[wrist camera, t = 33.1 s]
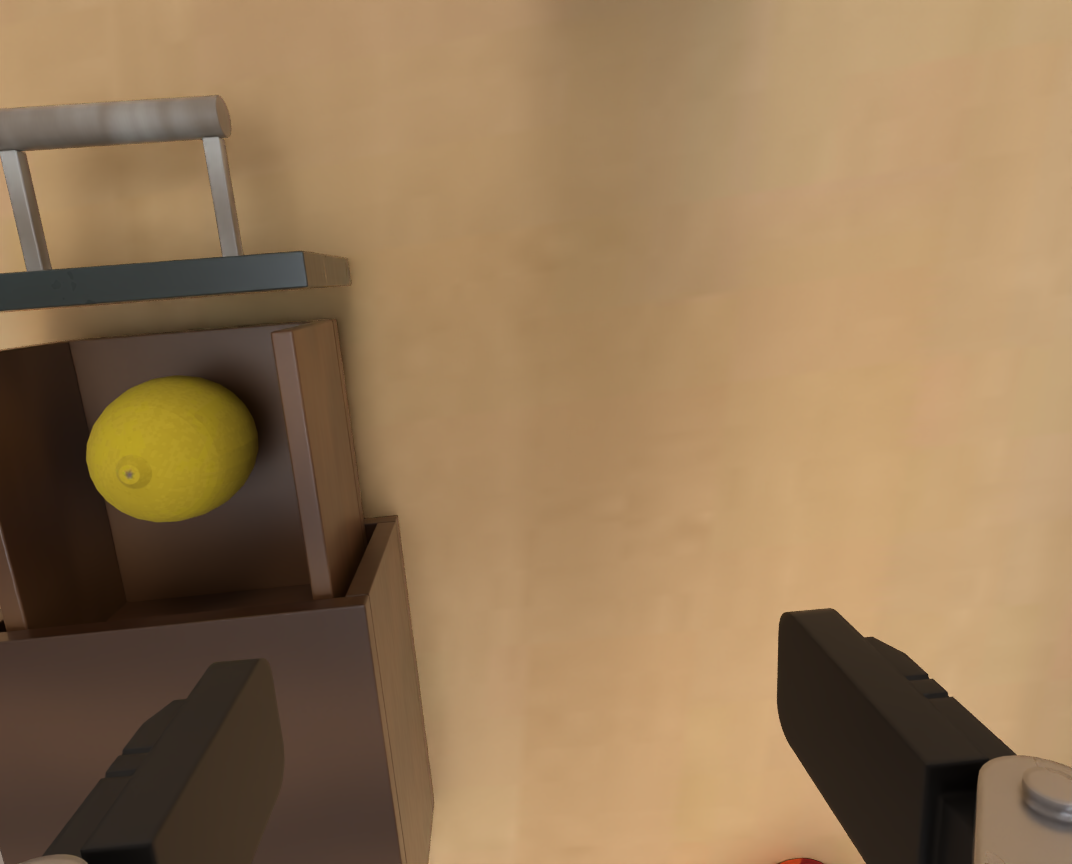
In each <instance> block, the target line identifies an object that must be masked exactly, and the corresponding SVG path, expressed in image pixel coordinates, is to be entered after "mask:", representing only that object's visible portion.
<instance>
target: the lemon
mask: <svg viewBox="0 0 1072 864" xmlns="http://www.w3.org/2000/svg"><path fill="white" fill-rule="evenodd" d="M257 453H258V432H257V429H256V425H255V422H254V419H253V417H252V415H251V413H250V412H249V410H248V408H247V407H246V405H245V404H244V403H243V402H242V401H241V400H240V399H239V398H238V397H237V396H236V395H235V394H234V393H233V392H231V391H230V390H228V389H227V388H225V387H223V386H222V385H220V384H218V383H215V382H212V381H210V380H207V379H204V378H201V377H192V376H182V375H175V376H168V377H161V378H155V379H151V380H149V381H146V382H144V383H142V384H139V385H137V386H135V387H132V388H130V389H128V390H127V391H125V392H124V393H123V394H122V395H120V396H119V397H118V398H117V399H115V400H114V401H113V402H112V403H110V404H109V405H108V406H107V407H106V408H105V410H104V411H103V412H102V414H101V415H100V417H99V418H98V419H97V421H96V422H95V424H94V425H93V428H92V430H91V433H90V436H89V439H88V442H87V451H86V461H87V466H88V470H89V474H90V477H91V479H92V481H93V483H94V485H95V487H96V489H97V490H98V492H99V493H100V494H101V495H102V496H103V497H104V499H105V500H106V501H107V502H109V503H110V504H111V505H113V506H114V507H115V508H117V509H118V510H120V511H121V512H123V513H125V514H127V515H130V516H132V517H134V518H137V519H141V520H147V521H152V522H176V521H182V520H186V519H190V518H193V517H197V516H201V515H203V514H206V513H208V512H210V511H212V510H213V509H215V508H217V507H219V506H220V505H222V504H224V503H225V502H227V501H228V500H229V499H230V498H231V497H232V496H233V495H234V494H235V493H236V492H237V491H238V490H239V489H240V488H241V487H242V486H243V485H244V484H245V482H246V480H247V479H248V477H249V475H250V473H251V472H252V470H253V468H254V465H255V461H256V457H257Z"/></svg>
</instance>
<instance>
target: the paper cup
mask: <svg viewBox="0 0 1072 864" xmlns="http://www.w3.org/2000/svg"><path fill="white" fill-rule="evenodd" d="M779 864H823V863H821V862H819V861H816V860H813V859H806V858H799V859H792V860H788V861H784V862H782V863H779Z"/></svg>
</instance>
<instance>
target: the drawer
mask: <svg viewBox="0 0 1072 864" xmlns="http://www.w3.org/2000/svg"><path fill="white" fill-rule="evenodd" d="M230 135H231V120H230V115H229V112H228V109H227V106H226V104H225V102H224V100H223V98H222V97H221V96H219V95H210V96H194V97H178V98H162V99H146V100H130V101H114V102H98V103H82V104H66V105H50V106H34V107H18V108H2V109H0V157H1V161H2V165H3V170H4V174H5V178H6V183H7V187H8V191H9V195H10V200H11V204H12V208H13V213H14V217H15V221H16V226H17V230H18V234H19V238H20V243H21V247H22V251H23V256H24V260H25V264H26V269H27V272H14V273H0V312H12V311H27V310H42V309H55V308H68V307H80V306H93V305H106V304H119V303H132V302H144V301H157V300H170V299H183V298H196V297H208V296H221V295H234V294H247V293H260V292H272V291H285V290H298V289H311V288H324V287H336V286H349V285H351V278H350V271H349V263H348V258H343V257H337V256H331V255H324V254H318V253H312V252H305V251H293V252H280V253H266V254H253V255H243V250H242V243H241V237H240V231H239V225H238V219H237V213H236V207H235V201H234V195H233V189H232V183H231V177H230V171H229V164H228V158H227V152H226V146H225V141H224V139H222V138H228V137H230ZM201 139H203V145H204V151H205V157H206V163H207V168H208V174H209V180H210V186H211V192H212V198H213V204H214V209H215V215H216V221H217V227H218V233H219V239H220V244H221V250H222V256H223V257H213V258H200V259H187V260H173V261H160V262H147V263H133V264H120V265H107V266H93V267H80V268H67V269H54V270H52V267H51V263H50V258H49V254H48V249H47V245H46V241H45V236H44V232H43V227H42V223H41V218H40V214H39V209H38V205H37V201H36V196H35V192H34V187H33V183H32V178H31V174H30V169H29V165H28V161H27V156H26V153H24V152H21V151H34V150H50V149H65V148H80V147H95V146H110V145H125V144H141V143H156V142H171V141H186V140H201ZM175 375H182V376H192V377H201V378H204V379H207V380H210V381H212V382H215V383H218V384H220V385H222V386H223V387H225V388H227V389H228V390H230V391H231V392H233V393H234V394H235V395H236V396H237V397H238V398H239V399H240V400H241V401H242V402H243V403H244V404H245V405H246V407H247V408H248V410H249V412H250V413H251V415H252V417H253V419H254V422H255V425H256V429H257V432H258V453H257V457H256V461H255V465H254V468H253V470H252V472H251V473H250V475H249V477H248V479H247V480H246V482H245V484H244V485H243V486H242V487H241V488H240V489H239V490H238V491H237V492H236V493H235V494H234V495H233V496H232V497H231V498H230V499H229V500H228V501H227V502H225V503H224V504H222V505H220V506H219V507H217V508H215V509H213V510H212V511H210V512H208V513H206V514H203V515H201V516H197V517H193V518H190V519H186V520H182V521H176V522H152V521H147V520H141V519H137V518H134V517H132V516H130V515H127V514H125V513H123V512H121V511H120V510H118V509H117V508H115V507H114V506H113V505H111V504H110V503H109V502H107V501H106V500H105V499H104V497H103V496H102V495H101V494H100V493H99V492H98V490H97V489H96V487H95V485H94V483H93V481H92V479H91V477H90V474H89V470H88V466H87V461H86V451H87V442H88V439H89V436H90V433H91V430H92V428H93V425H94V424H95V422H96V421H97V419H98V418H99V417H100V415H101V414H102V412H103V411H104V410H105V408H106V407H107V406H108V405H109V404H110V403H112V402H113V401H114V400H115V399H117V398H118V397H119V396H120V395H122V394H123V393H124V392H125V391H127V390H128V389H130V388H132V387H135V386H137V385H139V384H142V383H144V382H146V381H149V380H151V379H155V378H161V377H168V376H175ZM367 546H368V545H367V538H366V530H365V523H364V516H363V509H362V502H361V494H360V487H359V480H358V473H357V465H356V458H355V451H354V444H353V437H352V429H351V422H350V415H349V408H348V401H347V393H346V386H345V379H344V372H343V365H342V357H341V350H340V343H339V336H338V329H337V321H336V319H325V320H313V321H300V322H288V323H276V324H263V325H251V326H238V327H226V328H214V329H201V330H189V331H176V332H164V333H152V334H139V335H127V336H114V337H102V338H90V339H77V340H65V341H56V342H50V343H43V344H36V345H29V346H22V347H15V348H8V349H1V350H0V609H1V613H2V616H3V620H4V624H5V627H6V631H7V632H9V631H19V630H29V629H39V628H48V627H58V626H68V625H78V624H87V623H97V622H107V621H117V620H126V619H136V618H146V617H156V616H165V615H175V614H185V613H195V612H204V611H214V610H224V609H234V608H243V607H253V606H263V605H273V604H282V603H292V602H302V601H312V600H321V599H331V598H341V597H345V596H346V594H347V591H348V589H349V587H350V585H351V582H352V580H353V578H354V575H355V573H356V571H357V569H358V566H359V564H360V562H361V559H362V557H363V555H364V553H365V550H366V548H367Z"/></svg>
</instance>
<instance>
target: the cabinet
mask: <svg viewBox="0 0 1072 864" xmlns="http://www.w3.org/2000/svg"><path fill="white" fill-rule="evenodd" d="M364 523H365V530H366V538H367V545H368V546H367V548H366V550H365V553H364V555H363V557H362V559H361V562H360V564H359V566H358V569H357V571H356V573H355V575H354V578H353V580H352V582H351V585H350V587H349V589H348V591H347V594H346V596H345V597H341V598H331V599H321V600H312V601H302V602H292V603H282V604H273V605H263V606H253V607H243V608H234V609H224V610H214V611H204V612H195V613H185V614H175V615H165V616H156V617H146V618H136V619H126V620H117V621H107V622H97V623H87V624H78V625H68V626H58V627H48V628H39V629H29V630H19V631H9V632H7V631H6V627H5V624H4V620H3V616H2V613H1V609H0V851H1V854H2V857H3V861H4V864H19V863H22V862H25V861H28V860H31V859H34V858H38V857H42V855H43V854H44V853H45V851H46V850H47V849H48V847H49V846H50V845H51V843H52V842H53V841H54V839H55V838H56V837H57V836H58V834H59V833H60V832H61V830H62V829H63V828H64V826H65V825H66V824H67V822H68V821H69V820H70V818H71V817H72V816H73V814H74V813H75V812H76V811H77V809H78V808H79V807H80V805H81V804H82V803H83V801H84V800H85V799H86V797H87V796H88V795H89V793H90V792H91V791H92V790H93V788H94V787H95V786H96V784H97V783H98V782H99V780H100V779H101V778H105V772H106V771H107V770H108V768H109V767H110V766H111V765H112V763H113V762H114V761H115V759H116V758H117V757H118V756H119V755H122V750H123V749H124V747H125V746H126V745H127V743H128V742H129V741H130V740H131V738H132V737H133V736H134V734H135V733H136V732H137V730H138V729H139V728H140V726H141V725H142V724H143V723H144V722H145V721H147V720H148V719H149V718H151V717H152V716H153V715H155V714H156V713H157V712H159V711H160V710H161V709H163V708H164V707H165V706H167V705H168V704H169V703H171V702H172V701H173V700H180V699H186V698H187V697H188V696H189V694H190V693H191V691H192V690H193V688H194V687H195V686H196V684H197V683H198V681H199V680H200V678H201V677H202V676H203V674H204V673H205V671H206V670H207V669H208V667H209V666H210V665H211V664H212V663H215V662H224V661H235V660H246V659H257V658H265V659H266V660H267V661H268V662H269V664H270V667H271V671H272V676H273V682H274V688H275V694H276V700H277V706H278V713H279V719H280V725H281V731H282V737H283V743H284V754H285V763H284V775H283V781H282V786H281V789H280V792H279V795H278V798H277V800H276V803H275V805H274V808H273V810H272V813H271V815H270V818H269V820H268V823H267V826H266V828H265V831H264V833H263V836H262V838H261V841H260V843H259V846H258V848H257V851H256V853H255V856H254V858H253V861H252V863H251V864H428V862H429V851H430V841H431V830H432V820H433V809H434V796H433V789H432V781H431V773H430V765H429V757H428V749H427V741H426V734H425V726H424V718H423V710H422V702H421V694H420V686H419V678H418V671H417V663H416V655H415V647H414V639H413V631H412V623H411V616H410V608H409V600H408V592H407V584H406V576H405V568H404V561H403V553H402V545H401V537H400V529H399V521H398V516H387V517H376V518H366V519H364Z"/></svg>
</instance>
